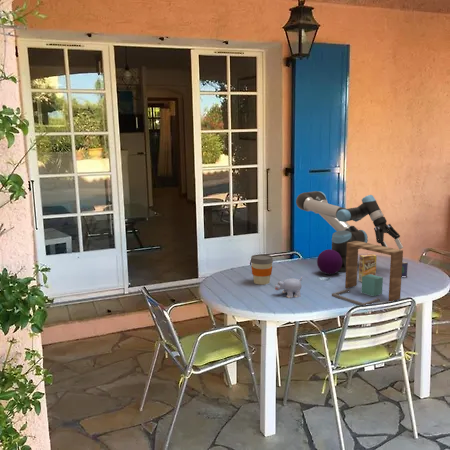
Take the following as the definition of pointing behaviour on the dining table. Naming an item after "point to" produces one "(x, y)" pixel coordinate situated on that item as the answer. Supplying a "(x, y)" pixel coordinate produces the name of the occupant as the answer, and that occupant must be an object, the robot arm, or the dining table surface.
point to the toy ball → (329, 261)
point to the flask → (404, 268)
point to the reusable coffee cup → (261, 268)
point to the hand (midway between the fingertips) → (394, 250)
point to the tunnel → (395, 253)
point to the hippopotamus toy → (290, 287)
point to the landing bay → (351, 299)
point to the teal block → (372, 285)
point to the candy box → (367, 265)
